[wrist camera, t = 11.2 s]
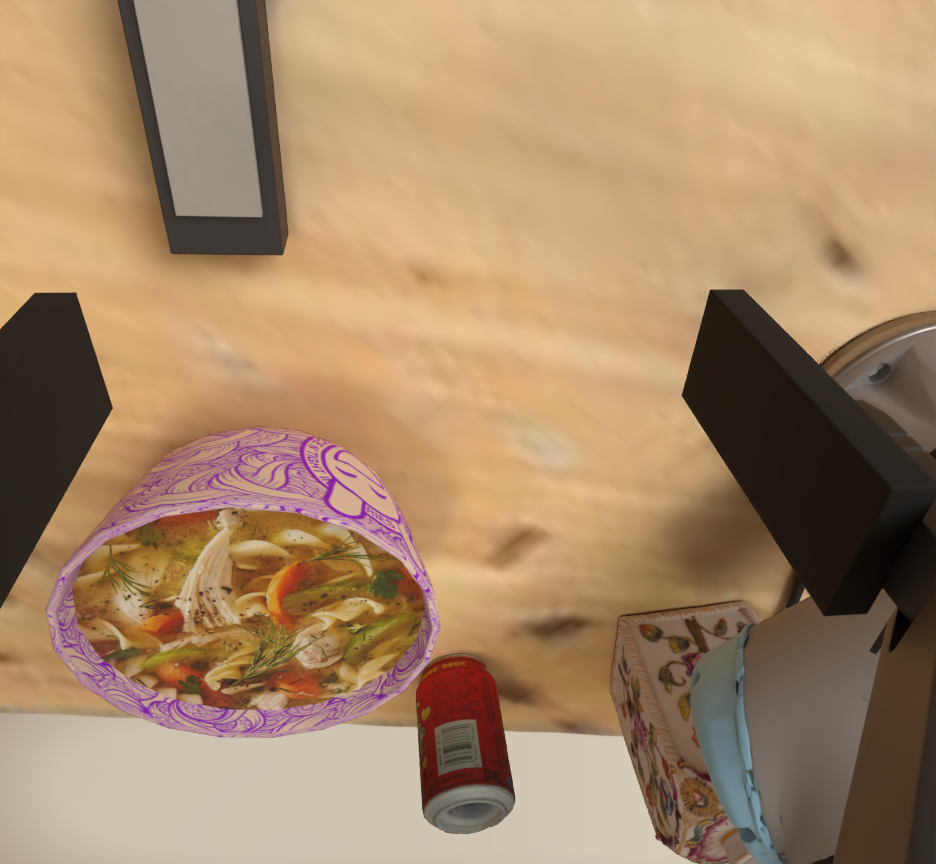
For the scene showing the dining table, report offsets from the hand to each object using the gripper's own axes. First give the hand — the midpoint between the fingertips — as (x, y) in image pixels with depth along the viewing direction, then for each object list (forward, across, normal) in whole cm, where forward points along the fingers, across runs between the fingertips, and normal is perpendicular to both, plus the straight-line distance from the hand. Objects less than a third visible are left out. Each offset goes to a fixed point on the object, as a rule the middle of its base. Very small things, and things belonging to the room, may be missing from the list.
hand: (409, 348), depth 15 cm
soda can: (+23, +4, -46) cm, 51 cm away
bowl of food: (+23, -8, -23) cm, 34 cm away
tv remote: (+22, -8, +3) cm, 24 cm away
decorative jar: (+23, +24, -44) cm, 55 cm away
